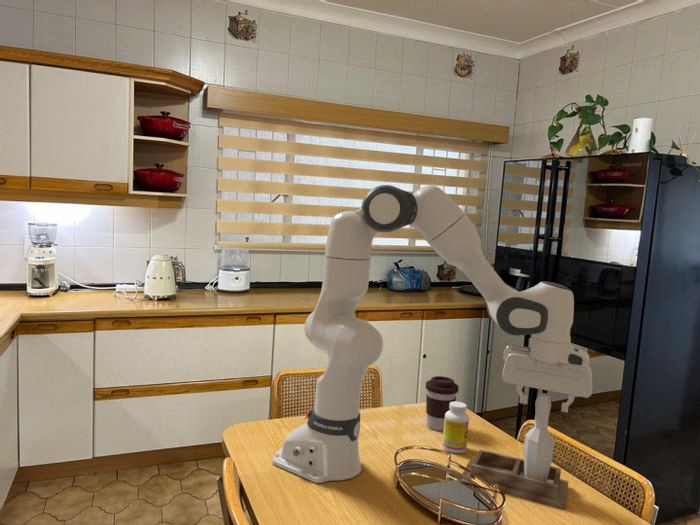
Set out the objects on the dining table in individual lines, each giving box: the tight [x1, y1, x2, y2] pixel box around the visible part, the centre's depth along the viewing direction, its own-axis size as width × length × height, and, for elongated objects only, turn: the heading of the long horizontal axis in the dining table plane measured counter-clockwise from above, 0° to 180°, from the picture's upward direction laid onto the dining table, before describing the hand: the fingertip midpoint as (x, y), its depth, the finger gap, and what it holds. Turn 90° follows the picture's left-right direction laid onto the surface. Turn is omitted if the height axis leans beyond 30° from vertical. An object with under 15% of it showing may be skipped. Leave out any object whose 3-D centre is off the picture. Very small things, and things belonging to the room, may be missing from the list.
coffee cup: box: [425, 375, 460, 432], centre depth 168 cm, size 10×10×15 cm
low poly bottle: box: [523, 392, 555, 482], centre depth 132 cm, size 6×6×22 cm
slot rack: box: [461, 448, 569, 510], centre depth 135 cm, size 24×12×4 cm, turn 66°
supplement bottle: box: [441, 401, 470, 454], centre depth 153 cm, size 7×7×13 cm
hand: (543, 407), depth 132 cm, fingers open, 8 cm apart
